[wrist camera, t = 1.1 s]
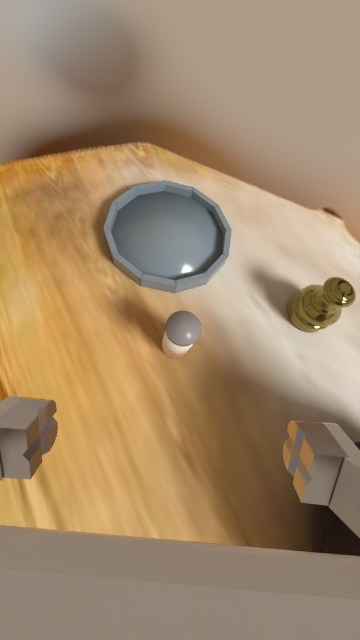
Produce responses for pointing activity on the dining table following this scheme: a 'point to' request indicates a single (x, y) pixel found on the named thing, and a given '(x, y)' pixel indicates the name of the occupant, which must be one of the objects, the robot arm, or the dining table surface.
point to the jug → (333, 532)
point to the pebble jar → (180, 334)
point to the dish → (167, 236)
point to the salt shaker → (320, 304)
